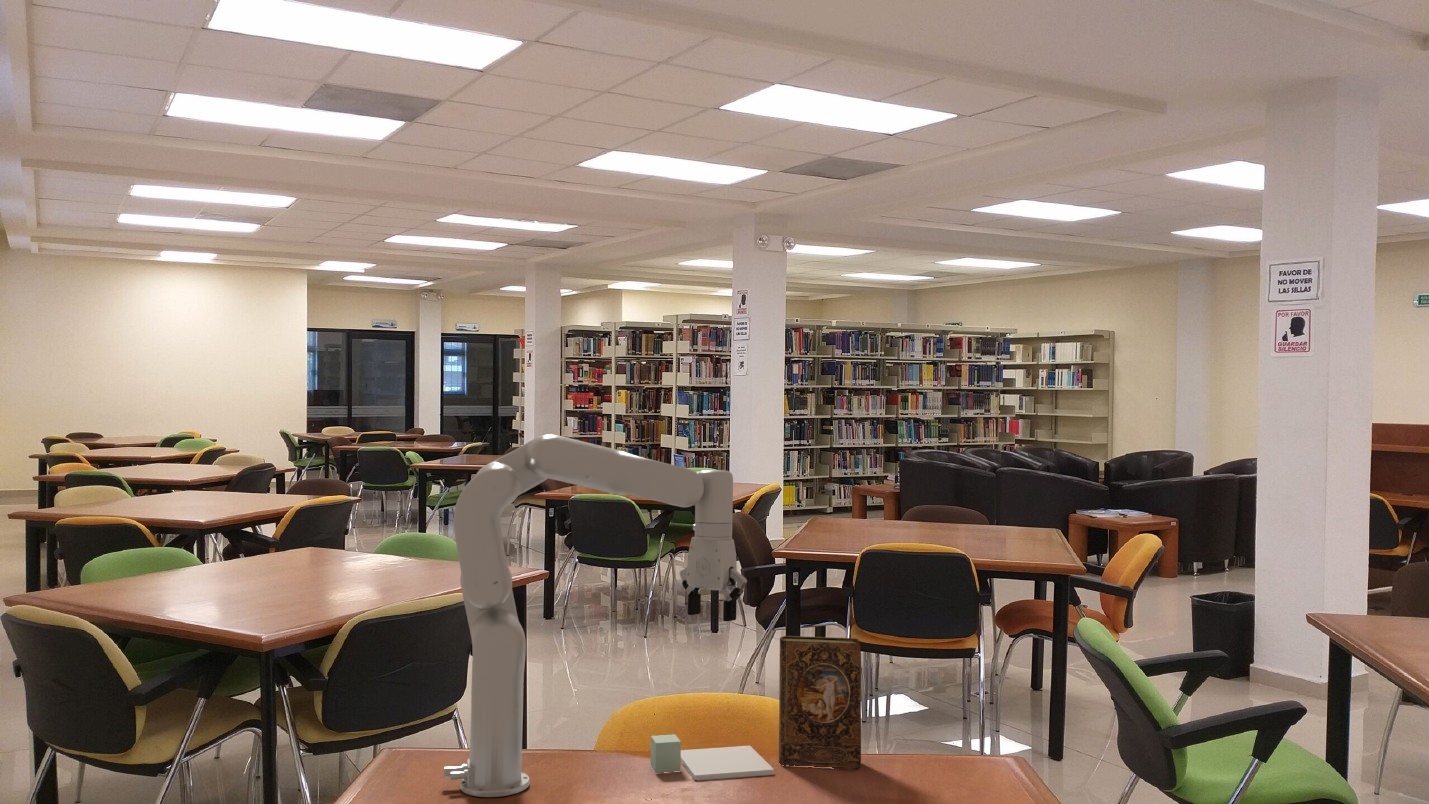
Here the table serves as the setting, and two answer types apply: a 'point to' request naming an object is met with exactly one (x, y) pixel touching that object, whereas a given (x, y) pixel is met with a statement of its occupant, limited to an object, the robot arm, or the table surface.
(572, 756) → the table surface
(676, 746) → the block
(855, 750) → the book
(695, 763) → the pale board
